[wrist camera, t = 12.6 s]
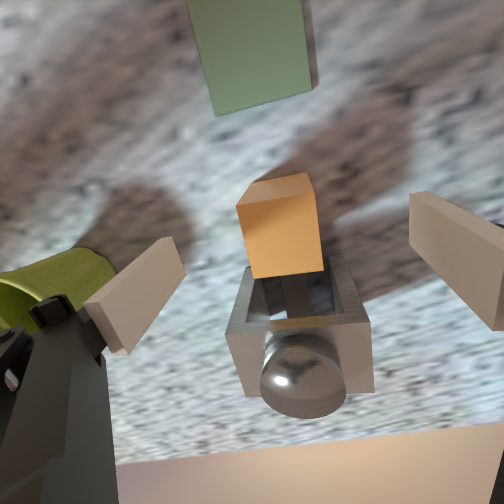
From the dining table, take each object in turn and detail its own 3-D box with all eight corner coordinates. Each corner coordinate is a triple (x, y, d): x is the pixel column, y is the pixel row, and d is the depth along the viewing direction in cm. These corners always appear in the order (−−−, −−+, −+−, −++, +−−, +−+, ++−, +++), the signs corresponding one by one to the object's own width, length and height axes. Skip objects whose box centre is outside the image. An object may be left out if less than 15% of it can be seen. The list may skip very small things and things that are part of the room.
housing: (259, 317, 27) (241, 424, 18) (245, 268, 25) (217, 359, 15) (347, 308, 26) (384, 423, 16) (342, 254, 23) (381, 348, 13)
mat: (217, 116, 20) (215, 116, 19) (187, -2, 17) (184, -5, 17) (311, 90, 18) (311, 89, 18) (295, -44, 16) (295, -49, 15)
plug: (284, 340, 28) (283, 400, 22) (251, 182, 22) (235, 205, 15) (327, 337, 27) (338, 399, 21) (306, 171, 21) (314, 191, 14)
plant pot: (147, 303, 29) (94, 369, 21) (76, 313, 31) (4, 376, 23) (109, 224, 25) (28, 268, 17) (31, 240, 27) (-73, 286, 19)
